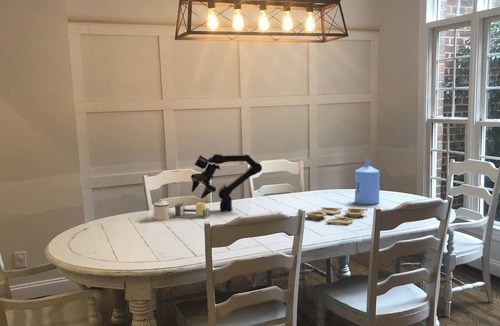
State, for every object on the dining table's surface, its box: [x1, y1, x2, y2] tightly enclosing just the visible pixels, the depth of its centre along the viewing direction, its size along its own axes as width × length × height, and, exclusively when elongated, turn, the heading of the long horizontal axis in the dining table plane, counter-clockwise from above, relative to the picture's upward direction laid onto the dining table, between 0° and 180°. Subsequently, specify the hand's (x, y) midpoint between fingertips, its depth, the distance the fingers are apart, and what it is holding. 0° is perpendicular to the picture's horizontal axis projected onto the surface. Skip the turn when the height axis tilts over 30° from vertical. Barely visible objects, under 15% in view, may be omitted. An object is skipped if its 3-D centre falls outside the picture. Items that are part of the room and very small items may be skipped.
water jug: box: [354, 159, 381, 205], centre depth 303 cm, size 16×16×28 cm
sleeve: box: [195, 201, 206, 216], centre depth 273 cm, size 4×5×7 cm
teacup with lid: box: [153, 198, 170, 222], centre depth 270 cm, size 12×9×12 cm
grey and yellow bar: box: [174, 202, 211, 220], centre depth 274 cm, size 19×8×7 cm, turn 79°
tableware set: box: [305, 206, 369, 226], centre depth 267 cm, size 35×29×4 cm
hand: (196, 195), depth 285 cm, fingers open, 9 cm apart
